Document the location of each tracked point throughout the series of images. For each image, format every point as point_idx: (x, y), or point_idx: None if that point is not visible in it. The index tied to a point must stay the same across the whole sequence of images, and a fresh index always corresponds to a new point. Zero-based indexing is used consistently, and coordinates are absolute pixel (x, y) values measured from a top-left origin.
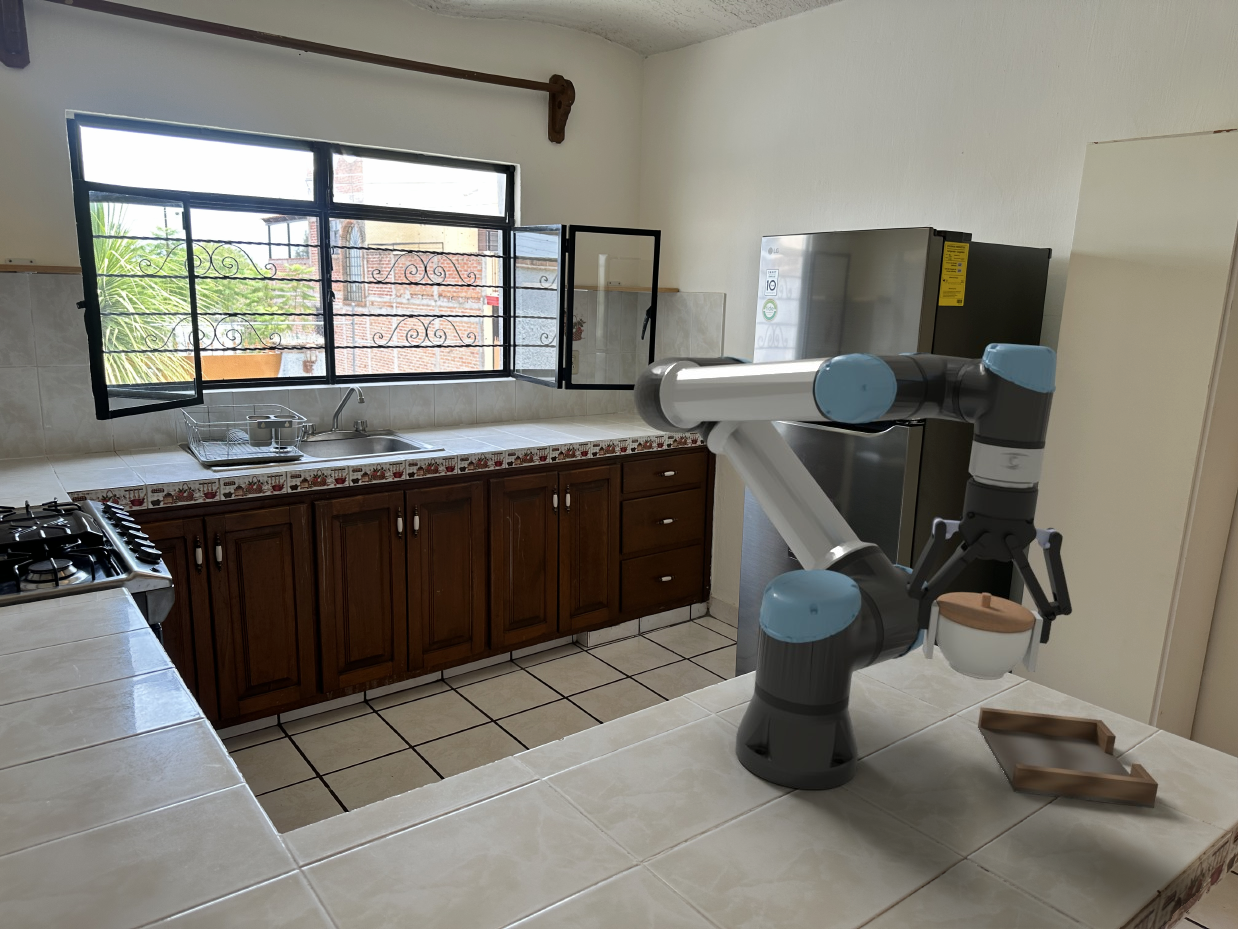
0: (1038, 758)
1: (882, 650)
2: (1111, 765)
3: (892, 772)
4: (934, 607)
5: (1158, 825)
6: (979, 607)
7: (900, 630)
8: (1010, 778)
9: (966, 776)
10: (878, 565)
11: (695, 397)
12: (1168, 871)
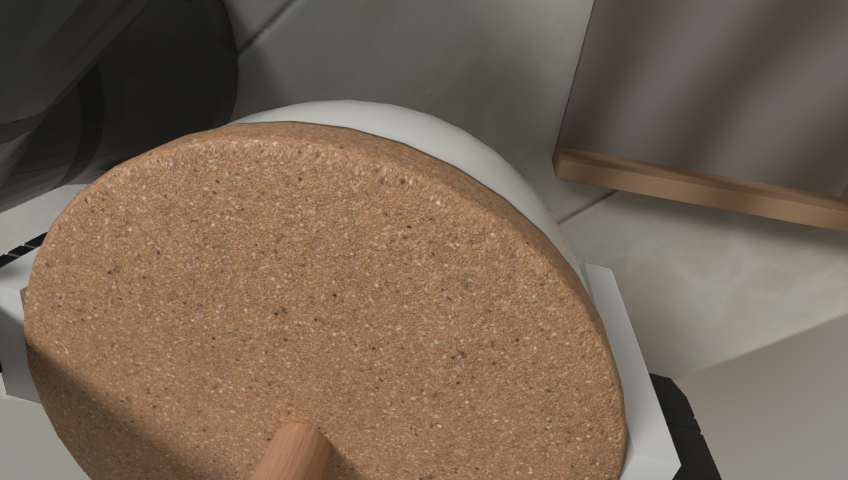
0: (706, 26)
1: (64, 96)
2: None
3: (312, 95)
4: (19, 397)
5: (790, 266)
6: (255, 465)
7: (71, 44)
8: (562, 130)
9: (472, 103)
10: None
11: None
12: (681, 372)
